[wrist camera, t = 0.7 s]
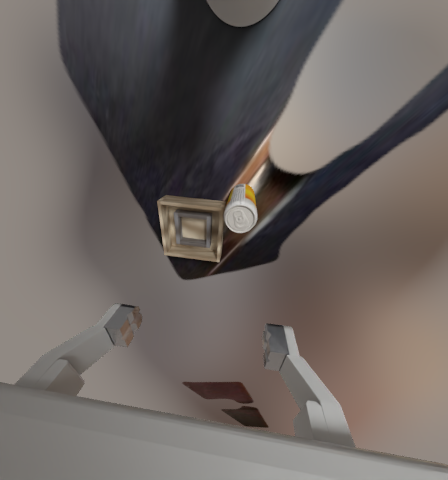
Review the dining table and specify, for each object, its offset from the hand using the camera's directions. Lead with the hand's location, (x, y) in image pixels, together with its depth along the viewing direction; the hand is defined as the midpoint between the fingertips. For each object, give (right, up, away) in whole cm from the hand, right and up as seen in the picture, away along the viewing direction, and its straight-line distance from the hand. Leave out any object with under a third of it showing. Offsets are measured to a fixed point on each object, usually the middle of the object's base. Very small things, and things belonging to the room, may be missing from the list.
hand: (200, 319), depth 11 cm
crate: (-7, +9, +37) cm, 39 cm away
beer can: (+6, +16, +32) cm, 36 cm away
